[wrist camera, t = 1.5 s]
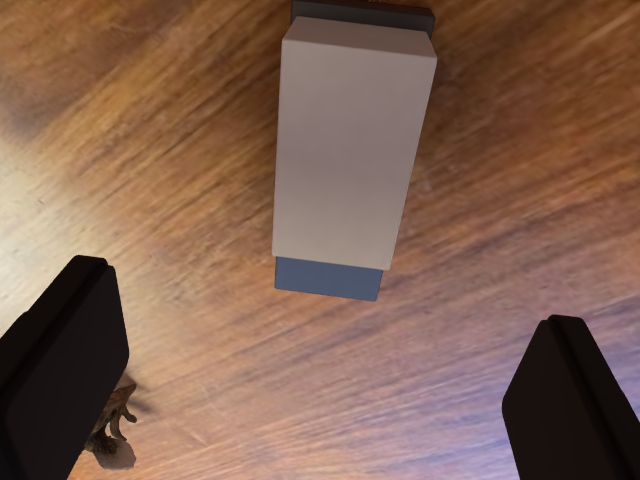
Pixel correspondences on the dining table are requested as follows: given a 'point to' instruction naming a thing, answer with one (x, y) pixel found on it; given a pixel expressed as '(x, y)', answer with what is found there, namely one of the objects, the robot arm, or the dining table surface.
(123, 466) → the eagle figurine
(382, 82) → the black base with blocks
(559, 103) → the dining table surface
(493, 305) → the dining table surface
